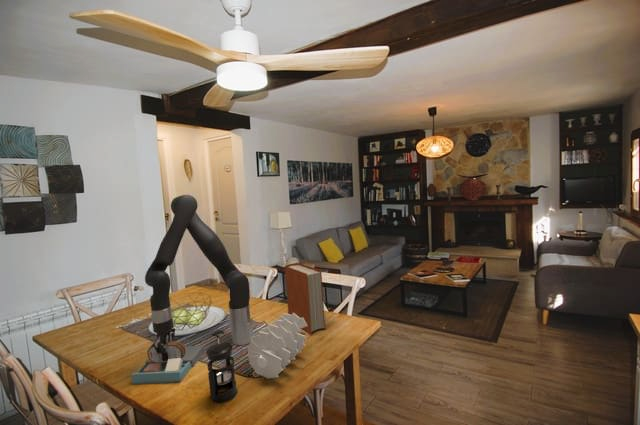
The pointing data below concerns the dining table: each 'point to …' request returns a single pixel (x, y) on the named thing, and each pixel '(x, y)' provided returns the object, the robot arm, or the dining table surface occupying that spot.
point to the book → (305, 295)
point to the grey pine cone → (276, 345)
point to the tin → (173, 352)
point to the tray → (160, 375)
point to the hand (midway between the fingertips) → (167, 358)
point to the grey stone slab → (188, 355)
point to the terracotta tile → (153, 367)
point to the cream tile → (174, 365)
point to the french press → (221, 371)
